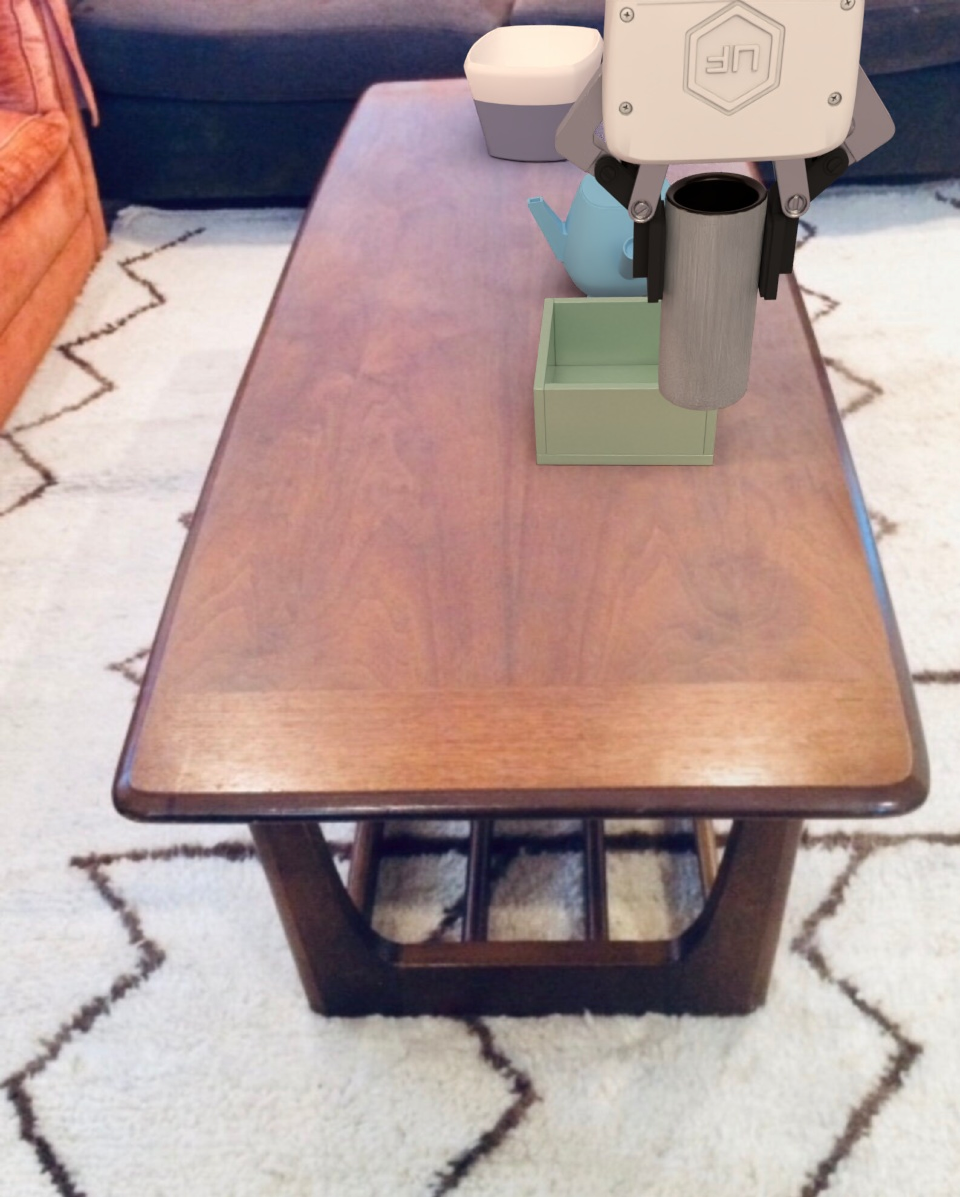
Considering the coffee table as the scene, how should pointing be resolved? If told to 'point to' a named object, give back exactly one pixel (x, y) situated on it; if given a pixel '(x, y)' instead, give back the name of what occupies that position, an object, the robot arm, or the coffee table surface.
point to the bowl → (529, 85)
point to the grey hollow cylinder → (710, 288)
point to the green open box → (610, 389)
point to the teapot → (594, 241)
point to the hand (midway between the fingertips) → (709, 284)
